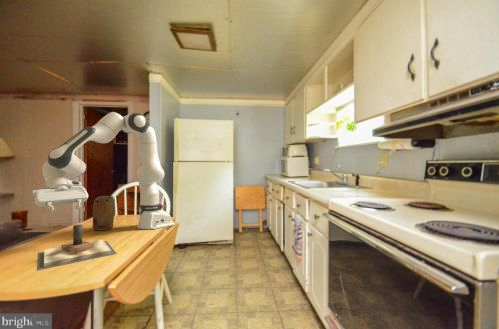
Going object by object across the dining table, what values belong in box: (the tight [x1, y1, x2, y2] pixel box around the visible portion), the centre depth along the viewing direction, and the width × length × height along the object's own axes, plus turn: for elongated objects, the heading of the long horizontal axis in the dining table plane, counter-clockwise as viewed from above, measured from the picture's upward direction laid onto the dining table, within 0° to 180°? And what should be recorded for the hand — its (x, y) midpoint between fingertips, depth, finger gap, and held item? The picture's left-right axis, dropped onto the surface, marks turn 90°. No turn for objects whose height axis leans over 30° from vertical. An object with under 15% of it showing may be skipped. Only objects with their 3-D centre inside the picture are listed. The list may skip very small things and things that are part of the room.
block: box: [92, 195, 115, 231], centre depth 145 cm, size 11×8×20 cm
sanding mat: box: [36, 240, 118, 271], centre depth 104 cm, size 26×23×1 cm
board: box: [43, 239, 111, 267], centre depth 104 cm, size 22×19×2 cm
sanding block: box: [60, 224, 94, 254], centre depth 104 cm, size 10×7×10 cm
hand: (67, 209), depth 111 cm, fingers open, 8 cm apart
